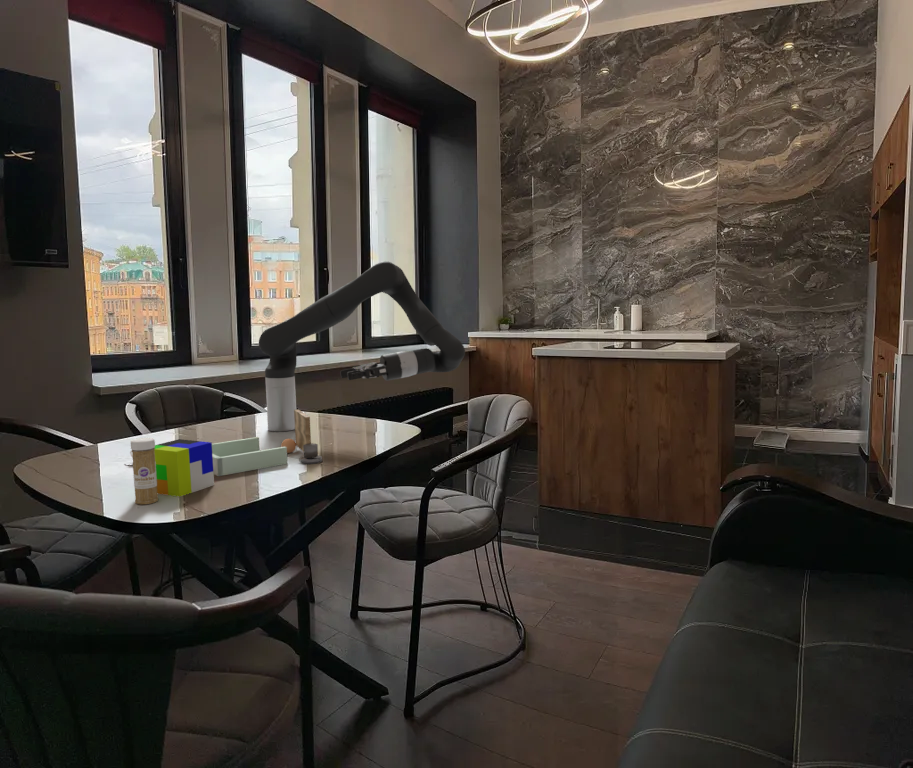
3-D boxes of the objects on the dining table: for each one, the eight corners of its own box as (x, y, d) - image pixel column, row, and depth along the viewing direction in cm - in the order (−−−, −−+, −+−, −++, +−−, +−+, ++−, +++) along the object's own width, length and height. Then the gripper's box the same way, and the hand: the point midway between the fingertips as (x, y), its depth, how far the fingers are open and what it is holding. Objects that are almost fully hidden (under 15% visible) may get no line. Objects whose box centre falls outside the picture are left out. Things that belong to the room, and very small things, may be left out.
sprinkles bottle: (137, 506, 138) (132, 442, 136) (133, 501, 142) (128, 438, 140) (161, 502, 141) (156, 439, 139) (156, 497, 144) (152, 436, 143)
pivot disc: (298, 460, 176) (297, 456, 176) (319, 458, 178) (319, 454, 178) (302, 465, 171) (302, 461, 171) (324, 462, 173) (324, 458, 173)
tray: (192, 463, 175) (191, 446, 174) (257, 452, 186) (257, 436, 186) (218, 476, 161) (216, 458, 161) (287, 463, 173) (286, 447, 172)
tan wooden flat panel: (319, 456, 174) (317, 418, 172) (305, 458, 172) (303, 420, 171) (304, 443, 189) (302, 409, 188) (291, 445, 188) (289, 410, 187)
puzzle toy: (214, 485, 154) (211, 442, 152) (179, 497, 145) (176, 451, 143) (182, 480, 158) (179, 439, 157) (146, 492, 149) (143, 448, 148)
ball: (280, 452, 186) (279, 438, 185) (294, 450, 188) (294, 436, 187) (283, 455, 182) (282, 440, 182) (297, 453, 184) (297, 439, 183)
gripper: (389, 351, 199) (336, 361, 194) (404, 353, 186) (347, 363, 180) (393, 376, 201) (340, 386, 195) (408, 379, 187) (352, 390, 181)
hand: (344, 375), depth 188 cm, fingers open, 8 cm apart
